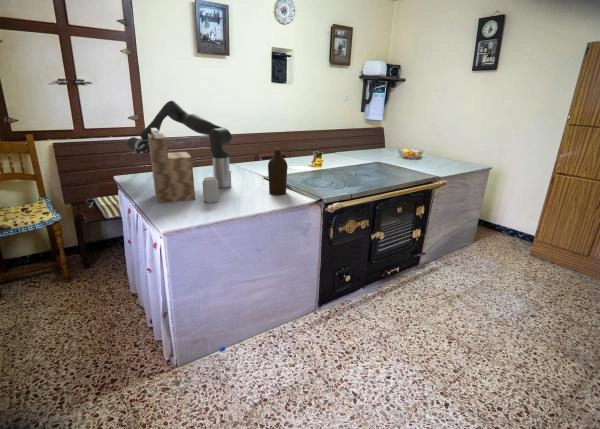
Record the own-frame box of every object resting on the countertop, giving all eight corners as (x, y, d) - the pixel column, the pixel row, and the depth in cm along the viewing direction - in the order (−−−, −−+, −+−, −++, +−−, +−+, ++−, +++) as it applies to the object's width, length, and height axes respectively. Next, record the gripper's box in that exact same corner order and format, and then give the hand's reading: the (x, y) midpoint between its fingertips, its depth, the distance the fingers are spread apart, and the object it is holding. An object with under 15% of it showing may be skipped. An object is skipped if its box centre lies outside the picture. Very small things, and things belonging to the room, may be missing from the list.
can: (204, 203, 171) (202, 180, 167) (203, 199, 178) (202, 176, 174) (219, 203, 173) (218, 179, 169) (218, 198, 180) (217, 176, 175)
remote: (156, 131, 181) (156, 127, 180) (161, 138, 159) (160, 133, 158) (151, 131, 180) (150, 127, 179) (155, 138, 158) (154, 133, 157)
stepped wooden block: (190, 191, 191) (184, 132, 180) (195, 199, 177) (189, 136, 166) (155, 194, 183) (147, 133, 172) (158, 203, 170) (149, 138, 159)
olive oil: (275, 196, 184) (275, 150, 176) (264, 192, 192) (263, 147, 183) (291, 193, 191) (291, 148, 182) (279, 189, 198) (279, 145, 190)
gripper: (158, 148, 203) (167, 149, 191) (134, 156, 196) (141, 158, 183) (152, 136, 200) (161, 136, 188) (128, 144, 193) (135, 144, 180)
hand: (151, 147), depth 185 cm, fingers open, 8 cm apart
